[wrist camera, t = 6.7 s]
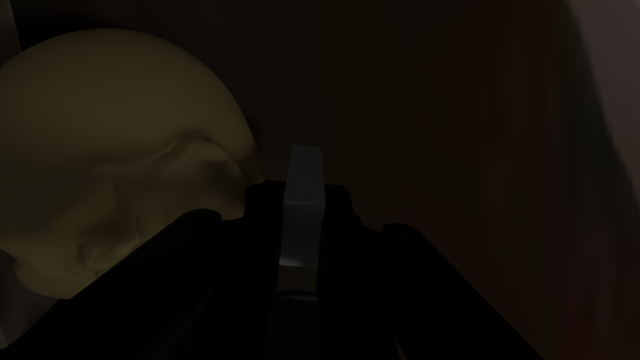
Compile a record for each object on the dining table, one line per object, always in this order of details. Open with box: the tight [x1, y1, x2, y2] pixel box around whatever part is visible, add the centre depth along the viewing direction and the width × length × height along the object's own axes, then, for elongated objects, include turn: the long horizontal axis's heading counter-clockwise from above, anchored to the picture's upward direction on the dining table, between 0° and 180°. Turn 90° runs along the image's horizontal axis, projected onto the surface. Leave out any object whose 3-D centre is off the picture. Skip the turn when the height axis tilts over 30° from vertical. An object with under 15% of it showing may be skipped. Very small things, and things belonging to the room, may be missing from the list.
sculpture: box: [0, 28, 266, 299], centre depth 16 cm, size 11×12×11 cm
